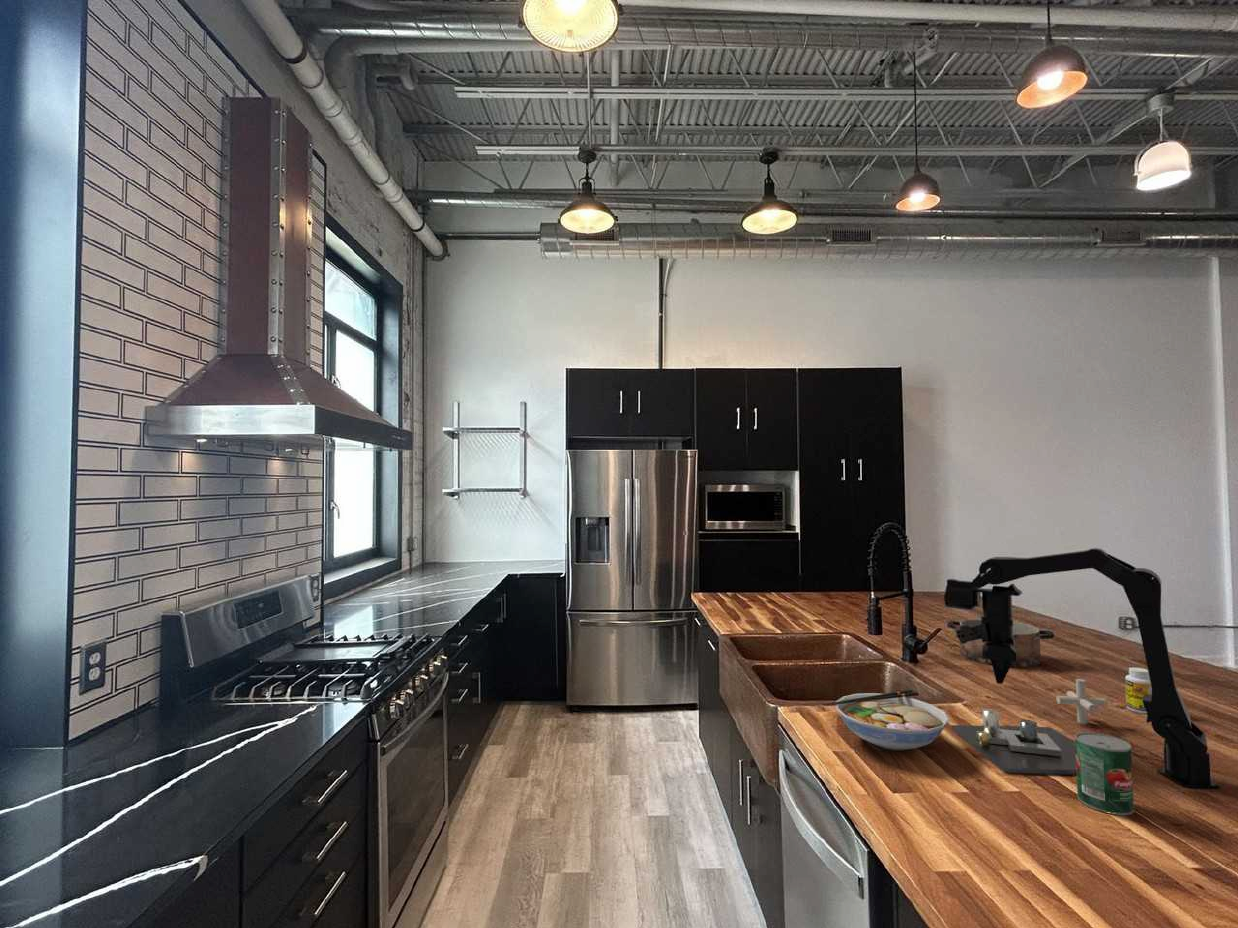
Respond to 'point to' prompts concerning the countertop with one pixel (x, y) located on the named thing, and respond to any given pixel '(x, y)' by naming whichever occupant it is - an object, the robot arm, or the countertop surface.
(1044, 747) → the metal knob latch
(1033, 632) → the cooking pot
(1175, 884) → the countertop surface
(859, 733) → the ramen bowl
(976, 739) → the post base
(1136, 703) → the supplement bottle
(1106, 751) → the canned tomato
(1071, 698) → the pipe connector
